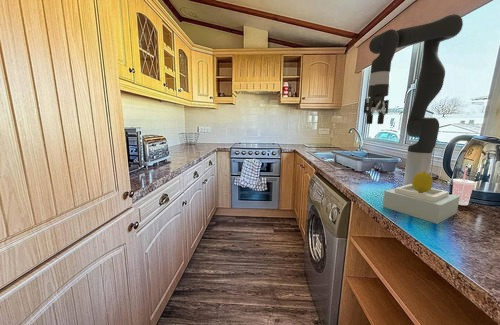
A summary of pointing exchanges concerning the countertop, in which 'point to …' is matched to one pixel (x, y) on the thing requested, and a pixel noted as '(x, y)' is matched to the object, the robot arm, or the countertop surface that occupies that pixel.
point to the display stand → (422, 203)
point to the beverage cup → (463, 189)
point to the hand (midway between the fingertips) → (374, 124)
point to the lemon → (422, 182)
